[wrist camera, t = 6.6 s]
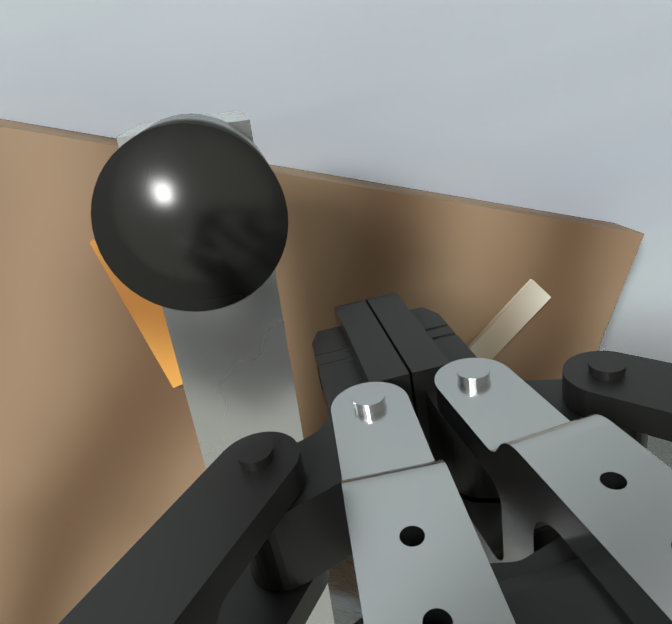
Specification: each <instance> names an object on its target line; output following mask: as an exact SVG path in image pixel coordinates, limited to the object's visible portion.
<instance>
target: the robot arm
mask: <svg viewBox="0 0 672 624" xmlns="http://www.w3.org/2000/svg"><path fill="white" fill-rule="evenodd" d="M334 313H335V319H336V324H337V327H334V328H330V329H326V330H322V331H318V332H317V334H316V336H315V338H314V340H313V342H312V347H313V352H314V356H315V361H316V366H317V370H318V375H319V380H320V385H321V389H322V394H323V399H324V402H325V406H326V409H327V412H328V416H329V418H328V419H327V421H326V423H325V424H324V425H323V426H322V427H321V428H320V429H319V430H318V431H316V432H315V433H314V434H312V435H310V436H309V437H307V438H305V439H303V440H301V441H299V442H296V441H295V439H293V438H292V437H291V436H289V435H287V434H284V433H281V432H270V431H268V432H260V433H255V434H252V435H249V436H246V437H244V438H241V439H239V440H238V441H236V442H234V443H233V444H231V445H230V446H229V447H228V448H226V449H225V450H224V451H223V452H222V453H221V454H220V455H219V456H218V458H217V459H216V460H215V461H214V462H213V463H212V464H211V465H210V466H209V467H208V468H207V469H206V470H205V471H204V472H203V473H202V474H201V475H200V476H199V477H198V478H197V479H196V480H195V482H194V483H193V484H192V485H191V486H190V487H189V488H188V489H187V490H186V491H185V492H184V493H183V494H182V495H181V496H180V497H179V498H178V499H177V500H176V501H175V502H174V503H173V505H172V506H171V507H170V508H169V509H168V510H167V511H166V512H165V513H164V514H163V515H162V516H161V517H160V518H159V519H158V520H157V521H156V522H155V523H154V524H153V525H152V526H151V528H150V529H149V530H148V531H147V532H146V533H145V534H144V535H143V536H142V537H141V538H140V539H139V540H138V541H137V542H136V543H135V544H134V545H133V546H132V547H131V548H130V549H129V551H128V552H127V553H126V554H125V555H124V556H123V557H122V558H121V559H120V560H119V561H118V562H117V563H116V564H115V565H114V566H113V567H112V568H111V569H110V570H109V571H108V572H107V573H106V575H105V576H104V577H103V578H102V579H101V580H100V581H99V582H98V583H97V584H96V585H95V586H94V587H93V588H92V589H91V590H90V591H89V592H88V593H87V594H86V595H85V596H84V598H83V599H82V600H81V601H80V602H79V603H78V604H77V605H76V606H75V607H74V608H73V609H72V610H71V611H70V612H69V613H68V614H67V615H66V616H65V617H64V618H63V619H62V621H61V622H60V623H59V624H305V623H306V622H307V620H308V618H309V616H310V615H311V613H312V611H313V609H314V607H315V606H316V604H317V602H318V600H319V598H320V597H321V595H322V593H323V591H324V590H325V587H326V585H327V583H328V579H329V569H330V568H332V567H333V566H335V565H336V564H338V563H340V562H341V561H343V560H344V559H346V558H348V557H349V556H351V555H352V554H353V559H354V565H355V572H356V578H357V584H358V590H359V597H360V603H361V609H362V615H363V617H362V618H360V619H359V620H358V621H356V622H355V623H354V624H672V469H671V468H670V467H669V466H667V465H666V464H665V463H664V462H662V461H661V460H660V459H659V458H657V457H656V456H655V455H653V454H652V453H651V452H650V451H648V450H647V440H648V435H650V436H654V437H657V438H661V439H664V440H668V441H671V442H672V363H668V362H663V361H658V360H653V359H648V358H643V357H638V356H633V355H628V354H623V353H618V352H612V351H590V352H584V353H580V354H577V355H575V356H573V357H571V358H569V359H568V360H567V361H566V362H565V363H564V365H563V369H562V379H553V380H522V379H521V378H520V377H519V376H518V375H516V374H515V373H514V372H513V371H512V370H511V369H510V368H508V367H507V366H506V365H504V364H502V363H500V362H498V361H495V360H491V359H486V358H477V357H476V356H475V354H474V353H473V352H472V351H471V350H470V349H469V348H468V346H467V345H466V344H465V343H464V342H463V341H462V340H461V339H460V337H459V336H458V335H455V332H454V331H453V330H452V328H451V327H450V326H448V324H447V323H446V322H445V321H444V319H443V318H442V317H441V316H440V315H439V314H438V313H436V312H433V311H431V310H428V309H426V308H424V307H420V308H415V309H411V310H409V308H408V307H407V306H406V304H405V303H404V302H403V301H402V299H401V298H400V297H399V295H398V294H397V293H391V294H387V295H382V296H378V297H374V298H369V299H366V300H361V301H357V302H352V303H348V304H344V305H339V306H335V307H334Z"/></svg>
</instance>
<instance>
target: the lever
mask: <svg viewBox="0 0 672 624" xmlns="http://www.w3.org/2000/svg"><path fill="white" fill-rule="evenodd" d="M116 139H117V142H118V146H119V149H118V150H117V151H116V152H115V153H113V154H112V156H111V157H110V158H109V160H108V161H107V162H106V164H105V165H104V167H103V169H102V171H101V172H100V174H99V176H98V179H97V181H96V184H95V187H94V191H93V196H92V201H91V223H92V230H93V234H94V238H95V241H96V244H97V246H98V249H99V252H100V253H101V255H102V257H103V259H104V261H105V263H106V264H107V265H108V267H109V268H110V270H111V271H112V272H113V274H114V275H115V276H116V277H117V278H118V279H119V280H120V281H121V282H122V283H123V284H124V285H125V286H127V287H128V288H129V289H130V290H131V291H133V292H134V293H136V294H137V295H139V296H140V297H142V298H144V299H146V300H148V301H150V302H152V303H154V304H157V305H160V306H162V309H163V312H164V316H165V320H166V323H167V327H168V331H169V334H170V338H171V342H172V345H173V349H174V353H175V356H176V360H177V364H178V368H179V371H180V375H181V379H182V382H183V386H184V390H185V393H186V397H187V401H188V404H189V408H190V412H191V416H192V419H193V423H194V427H195V430H196V434H197V438H198V441H199V445H200V449H201V452H202V456H203V460H204V464H205V467H206V469H207V468H208V467H209V466H210V465H211V464H212V463H213V462H214V461H215V460H216V459H217V458H218V456H219V455H220V454H221V453H222V452H223V451H224V450H225V449H226V448H228V447H229V446H230V445H231V444H233V443H234V442H236V441H238V440H239V439H241V438H244V437H246V436H249V435H252V434H255V433H260V432H268V431H270V432H281V433H284V434H287V435H289V436H291V437H292V438H293V439H295V441H296V442H299V441H301V440H303V433H302V427H301V422H300V416H299V410H298V404H297V398H296V392H295V386H294V380H293V374H292V368H291V362H290V356H289V350H288V345H287V339H286V333H285V327H284V321H283V315H282V309H281V303H280V297H279V291H278V285H277V279H276V273H275V268H276V267H277V265H278V263H279V261H280V259H281V257H282V254H283V251H284V248H285V245H286V240H287V235H288V210H287V205H286V200H285V196H284V193H283V191H282V188H281V185H280V183H279V181H278V179H277V177H276V176H275V174H274V172H273V171H272V169H271V167H270V166H269V164H268V163H267V161H266V159H265V158H264V156H263V155H262V153H261V152H260V150H259V149H258V147H257V146H256V145H255V144H254V143H253V137H252V131H251V125H250V120H249V118H248V117H247V116H246V115H245V114H244V113H243V112H242V110H239V111H232V112H224V113H216V114H209V115H200V114H181V115H176V116H171V117H168V118H165V119H162V120H160V121H155V122H147V123H141V124H139V125H137V126H136V127H134V128H132V129H130V130H129V131H127V132H125V133H123V134H121V135H120V136H118V137H116ZM362 617H363V615H362V609H361V603H360V597H359V590H358V584H357V578H356V572H355V565H354V559H353V554H352V555H351V556H349V557H348V558H346V559H344V560H343V561H341V562H340V563H338V564H336V565H335V566H333V567H332V568H330V569H329V579H328V583H327V585H326V587H325V590H324V591H323V593H322V595H321V597H320V598H319V600H318V602H317V604H316V606H315V607H314V609H313V611H312V613H311V615H310V616H309V618H308V620H307V622H306V623H305V624H354V623H355V622H356V621H358V620H359V619H360V618H362Z"/></svg>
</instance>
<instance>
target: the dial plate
mask: <svg viewBox="0 0 672 624" xmlns="http://www.w3.org/2000/svg"><path fill="white" fill-rule="evenodd" d="M118 149H119V146H118V142H117V139H115V138H110V137H104V136H98V135H92V134H86V133H80V132H74V131H68V130H62V129H57V128H51V127H45V126H39V125H33V124H27V123H21V122H15V121H9V120H4V119H0V624H59V623H60V622H61V621H62V619H63V618H64V617H65V616H66V615H67V614H68V613H69V612H70V611H71V610H72V609H73V608H74V607H75V606H76V605H77V604H78V603H79V602H80V601H81V600H82V599H83V598H84V596H85V595H86V594H87V593H88V592H89V591H90V590H91V589H92V588H93V587H94V586H95V585H96V584H97V583H98V582H99V581H100V580H101V579H102V578H103V577H104V576H105V575H106V573H107V572H108V571H109V570H110V569H111V568H112V567H113V566H114V565H115V564H116V563H117V562H118V561H119V560H120V559H121V558H122V557H123V556H124V555H125V554H126V553H127V552H128V551H129V549H130V548H131V547H132V546H133V545H134V544H135V543H136V542H137V541H138V540H139V539H140V538H141V537H142V536H143V535H144V534H145V533H146V532H147V531H148V530H149V529H150V528H151V526H152V525H153V524H154V523H155V522H156V521H157V520H158V519H159V518H160V517H161V516H162V515H163V514H164V513H165V512H166V511H167V510H168V509H169V508H170V507H171V506H172V505H173V503H174V502H175V501H176V500H177V499H178V498H179V497H180V496H181V495H182V494H183V493H184V492H185V491H186V490H187V489H188V488H189V487H190V486H191V485H192V484H193V483H194V482H195V480H196V479H197V478H198V477H199V476H200V475H201V474H202V473H203V472H204V471H205V470H206V467H205V464H204V460H203V456H202V452H201V449H200V445H199V441H198V438H197V434H196V430H195V427H194V423H193V419H192V416H191V412H190V408H189V404H188V401H187V397H186V393H185V390H184V386H183V382H182V379H181V375H180V371H179V368H178V364H177V360H176V356H175V353H174V349H173V345H172V342H171V338H170V334H169V331H168V327H167V323H166V320H165V316H164V312H163V309H162V306H160V305H157V304H154V303H152V302H150V301H148V300H146V299H144V298H142V297H140V296H139V295H137V294H136V293H134V292H133V291H131V290H130V289H129V288H128V287H127V286H125V285H124V284H123V283H122V282H121V281H120V280H119V279H118V278H117V277H116V276H115V275H114V274H113V272H112V271H111V270H110V268H109V267H108V265H107V264H106V263H105V261H104V259H103V257H102V255H101V253H100V252H99V249H98V246H97V244H96V241H95V238H94V234H93V230H92V223H91V201H92V196H93V191H94V187H95V184H96V181H97V179H98V176H99V174H100V172H101V171H102V169H103V167H104V165H105V164H106V162H107V161H108V160H109V158H110V157H111V156H112V154H113V153H115V152H116V151H117V150H118ZM269 166H270V167H271V169H272V171H273V172H274V174H275V176H276V177H277V179H278V181H279V183H280V185H281V188H282V191H283V193H284V196H285V200H286V205H287V210H288V235H287V240H286V245H285V248H284V251H283V254H282V257H281V259H280V261H279V263H278V265H277V267H276V268H275V273H276V279H277V285H278V291H279V297H280V303H281V309H282V315H283V321H284V327H285V333H286V339H287V345H288V350H289V356H290V362H291V368H292V374H293V380H294V386H295V392H296V398H297V404H298V410H299V416H300V422H301V427H302V433H303V439H305V438H307V437H309V436H310V435H312V434H314V433H315V432H316V431H318V430H319V429H320V428H321V427H322V426H323V425H324V424H325V423H326V421H327V419H328V418H329V416H328V412H327V409H326V406H325V402H324V399H323V394H322V389H321V385H320V380H319V375H318V370H317V366H316V361H315V356H314V352H313V347H312V342H313V340H314V338H315V336H316V334H317V332H318V331H322V330H326V329H330V328H334V327H337V324H336V319H335V313H334V307H335V306H339V305H344V304H348V303H352V302H357V301H361V300H366V299H369V298H374V297H378V296H382V295H387V294H391V293H397V294H398V295H399V297H400V298H401V299H402V301H403V302H404V303H405V304H406V306H407V307H408V308H409V310H411V309H415V308H420V307H424V308H426V309H428V310H431V311H433V312H436V313H438V314H439V315H440V316H441V317H442V318H443V319H444V321H445V322H446V323H447V324H448V326H450V327H451V328H452V330H453V331H454V332H455V335H458V336H459V337H460V339H461V340H462V341H463V342H464V343H465V344H466V345H467V346H468V348H469V349H470V350H471V351H472V352H473V353H474V354H475V356H476V357H477V358H486V359H491V360H495V361H498V362H500V363H502V364H504V365H506V366H507V367H508V368H510V369H511V370H512V371H513V372H514V373H515V374H516V375H518V376H519V377H520V378H521V379H522V380H553V379H562V369H563V365H564V363H565V362H566V361H567V360H568V359H569V358H571V357H573V356H575V355H577V354H580V353H584V352H590V351H597V350H598V347H599V345H600V342H601V340H602V337H603V335H604V332H605V330H606V327H607V325H608V322H609V320H610V317H611V315H612V312H613V310H614V308H615V305H616V303H617V300H618V298H619V295H620V293H621V290H622V288H623V285H624V283H625V280H626V278H627V275H628V273H629V271H630V268H631V266H632V263H633V261H634V258H635V256H636V253H637V251H638V248H639V246H640V243H641V241H642V238H643V236H644V234H643V233H641V232H638V231H635V230H632V229H629V228H626V227H624V226H621V225H618V224H615V223H610V222H604V221H598V220H592V219H586V218H581V217H575V216H569V215H563V214H557V213H551V212H545V211H539V210H534V209H528V208H522V207H516V206H510V205H504V204H498V203H492V202H486V201H481V200H475V199H469V198H463V197H457V196H451V195H445V194H439V193H433V192H428V191H422V190H416V189H410V188H404V187H398V186H392V185H386V184H380V183H375V182H369V181H363V180H357V179H351V178H345V177H339V176H333V175H327V174H322V173H316V172H310V171H304V170H298V169H292V168H286V167H280V166H274V165H269Z"/></svg>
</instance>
